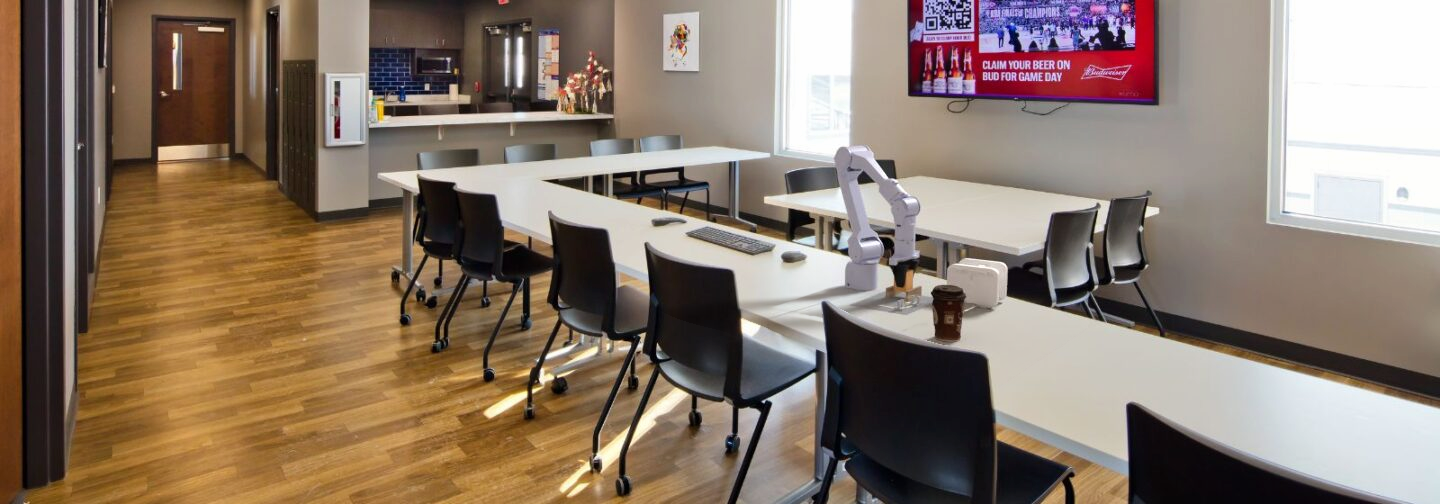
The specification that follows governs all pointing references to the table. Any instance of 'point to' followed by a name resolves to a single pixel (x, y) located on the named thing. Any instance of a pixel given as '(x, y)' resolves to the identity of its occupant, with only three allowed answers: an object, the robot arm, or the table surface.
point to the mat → (894, 303)
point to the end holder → (915, 291)
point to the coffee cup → (948, 312)
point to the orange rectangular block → (906, 282)
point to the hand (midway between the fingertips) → (903, 285)
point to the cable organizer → (979, 281)
